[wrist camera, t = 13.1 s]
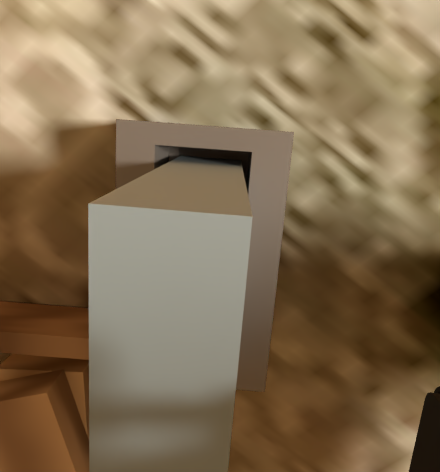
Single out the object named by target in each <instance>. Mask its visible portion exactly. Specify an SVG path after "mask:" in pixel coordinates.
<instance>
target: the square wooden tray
mask: <svg viewBox="0 0 440 472" xmlns="http://www.w3.org/2000/svg"><path fill="white" fill-rule="evenodd" d="M0 353H11V354H23V355H35V356H48V357H60V358H72V359H84V360H89V308H82V307H69V306H57V305H44V304H32V303H19V302H7V301H0Z"/></svg>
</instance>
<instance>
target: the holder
mask: <svg viewBox="0 0 440 472" xmlns="http://www.w3.org/2000/svg"><path fill="white" fill-rule="evenodd" d="M293 135H294V132H284V131H270V130H257V129H243V128H229V127H216V126H202V125H188V124H175V123H161V122H147V121H134V120H120V119H116V189H117V188H119V187H121V186H123V185H125V184H127V183H129V182H131V181H133V180H135V179H137V178H139V177H141V176H143V175H144V174H146V173H148V172H150V171H152V170H154V169H156V168H158V167H160V166H162V165H164V164H166V163H168V162H170V161H172V160H174V159H176V158H177V157H179V156H181V155H183V156H196V157H209V158H222V159H234V160H241V164H242V168H243V173H244V178H245V183H246V187H247V192H248V197H249V202H250V207H251V211H252V216H253V218H252V228H251V238H250V249H249V259H248V269H247V280H246V290H245V300H244V311H243V321H242V331H241V342H240V352H239V362H238V373H237V383H236V390H247V391H259V392H265V385H266V376H267V368H268V359H269V350H270V341H271V332H272V323H273V314H274V305H275V296H276V287H277V278H278V269H279V260H280V251H281V242H282V233H283V225H284V216H285V207H286V198H287V189H288V180H289V171H290V162H291V153H292V144H293Z"/></svg>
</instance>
